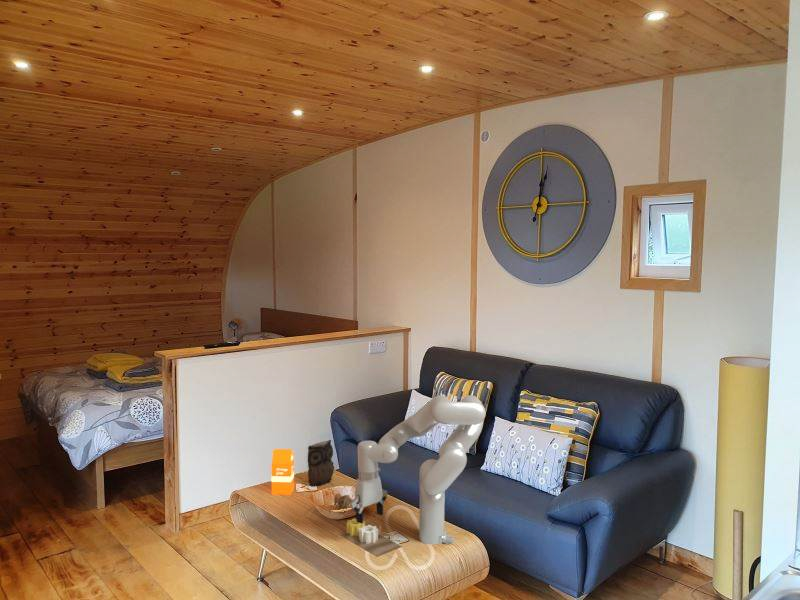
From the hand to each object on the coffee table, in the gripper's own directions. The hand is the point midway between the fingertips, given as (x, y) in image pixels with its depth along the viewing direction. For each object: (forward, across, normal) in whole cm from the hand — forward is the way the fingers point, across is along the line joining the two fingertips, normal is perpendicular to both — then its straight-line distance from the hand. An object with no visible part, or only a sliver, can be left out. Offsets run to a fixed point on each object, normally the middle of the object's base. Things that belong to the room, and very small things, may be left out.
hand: (370, 518), depth 233 cm
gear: (+8, +1, -8) cm, 11 cm away
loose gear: (+8, +1, 0) cm, 8 cm away
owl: (+9, -20, -66) cm, 69 cm away
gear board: (+10, +1, 0) cm, 10 cm away
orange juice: (+8, 0, -66) cm, 66 cm away
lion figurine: (+9, -8, -30) cm, 32 cm away
